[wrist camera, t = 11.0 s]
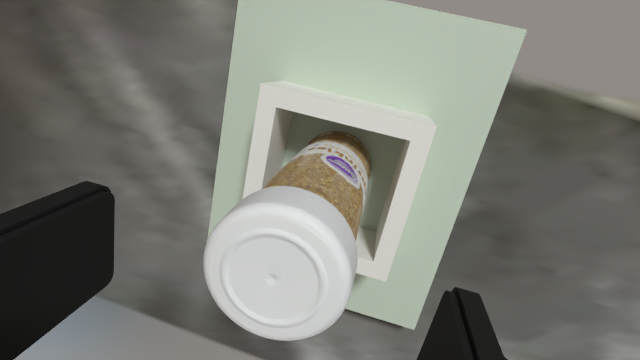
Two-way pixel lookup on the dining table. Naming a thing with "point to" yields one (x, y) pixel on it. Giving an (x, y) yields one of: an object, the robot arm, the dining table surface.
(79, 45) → the dining table surface
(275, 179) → the sprinkles bottle
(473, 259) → the dining table surface
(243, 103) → the chute mount
